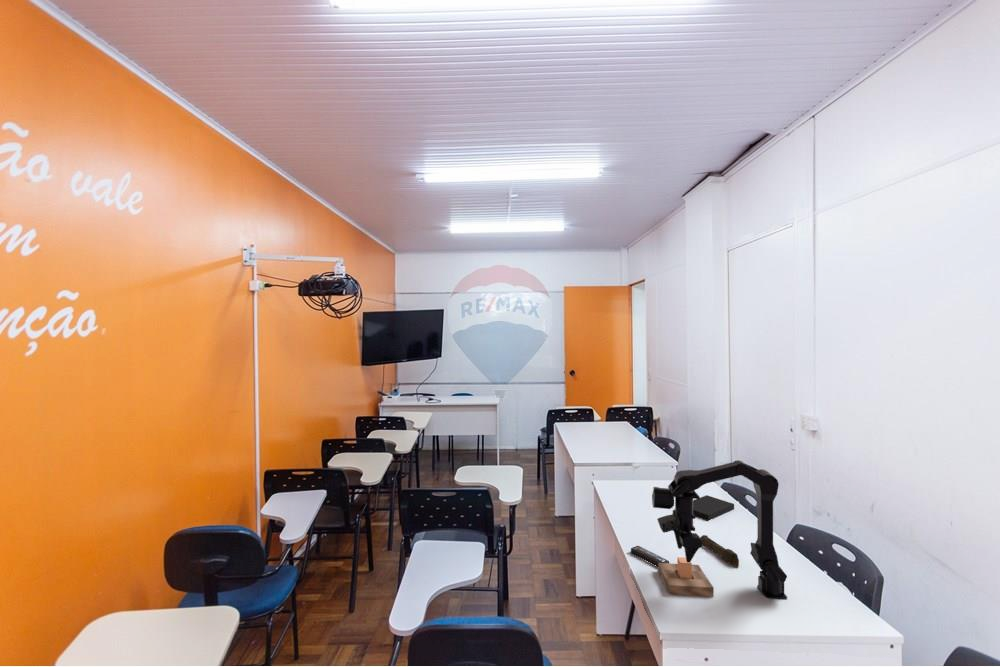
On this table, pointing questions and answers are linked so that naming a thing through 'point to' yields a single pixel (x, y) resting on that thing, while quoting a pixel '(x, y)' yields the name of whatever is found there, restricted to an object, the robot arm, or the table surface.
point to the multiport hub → (648, 555)
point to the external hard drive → (710, 507)
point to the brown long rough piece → (721, 551)
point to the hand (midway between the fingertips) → (683, 555)
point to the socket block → (685, 581)
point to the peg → (684, 568)
